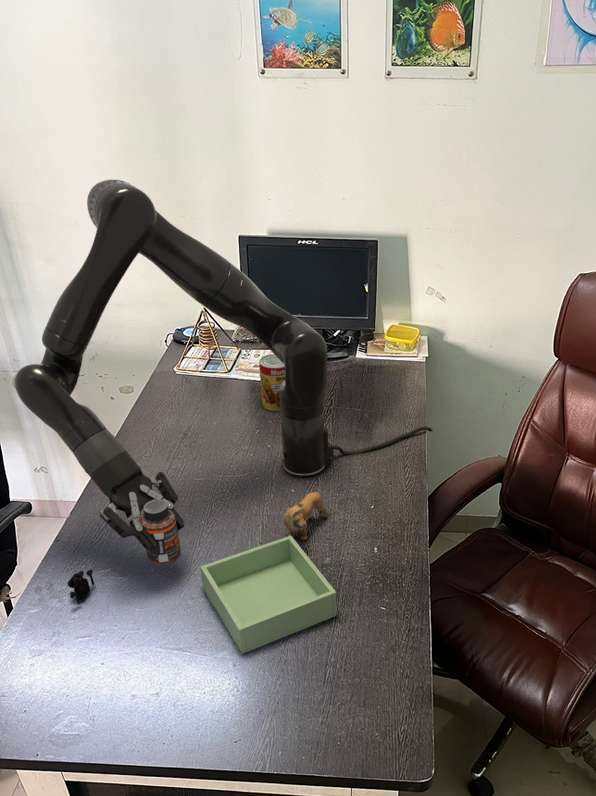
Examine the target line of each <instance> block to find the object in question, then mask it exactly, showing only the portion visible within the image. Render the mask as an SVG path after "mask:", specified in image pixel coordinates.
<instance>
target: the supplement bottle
mask: <svg viewBox="0 0 596 796" xmlns="http://www.w3.org/2000/svg"><path fill="white" fill-rule="evenodd" d="M142 510H143V514H142V515H141V517H140V520H141V523H142V527H143V530H144V529H146V531H147V532H148V533H149V534H150V536H151V537H152V538H153V539H154V541H155V542H156V543H157V545H158V547H156V548H155V549H154V550H152V551H150V550H149V549H148V550H147V549H145V552H146V557H147V560H148V561H149V562H150V563H151V564H152V565H156V566H166V565H167V566H168V565H170V564H172V563H174V562H176V561H177V560H179V558H180V557H181V553H182V550H181V544H180V538H179V537H180V536H179V531H177V525H176V520H175V515H174V514H173V512H172V511H170V510H169V509H168V507H167V503H166V502H165V501H162V500H154V499H153V500H152V501H149V502H147V503H146V504H145V505H144V508H143V509H142Z"/></svg>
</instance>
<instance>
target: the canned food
mask: <svg viewBox="0 0 596 796" xmlns="http://www.w3.org/2000/svg"><path fill="white" fill-rule="evenodd" d="M258 366H259V378H260V392H261V405H262V408H264V409H266V410H267V411H272V412H280V398H279V387H280V385H281V383H282V382H284V381H285V365H284V364H283V363H282V362H281V361H280V360H279V359H278V358H277V357H276V356H275V354H274V353H268V354H265V355H263V356H261V357H260V358H259V360H258Z"/></svg>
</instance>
